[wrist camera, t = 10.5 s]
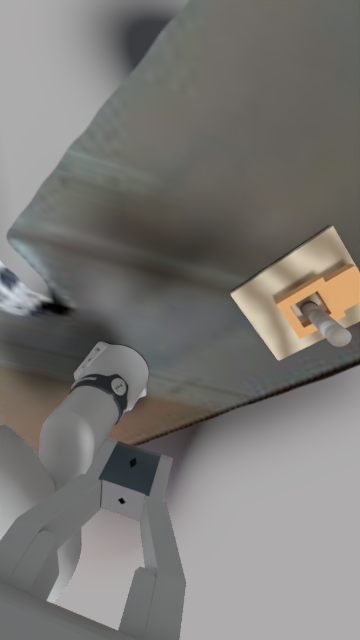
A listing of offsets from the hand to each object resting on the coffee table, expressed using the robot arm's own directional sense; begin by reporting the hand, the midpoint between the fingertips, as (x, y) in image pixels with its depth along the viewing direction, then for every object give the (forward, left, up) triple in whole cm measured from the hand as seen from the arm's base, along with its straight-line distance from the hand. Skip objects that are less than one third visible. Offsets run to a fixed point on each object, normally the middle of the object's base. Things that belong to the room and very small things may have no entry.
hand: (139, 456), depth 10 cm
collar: (+14, -14, -35) cm, 40 cm away
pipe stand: (+12, -14, -39) cm, 43 cm away
